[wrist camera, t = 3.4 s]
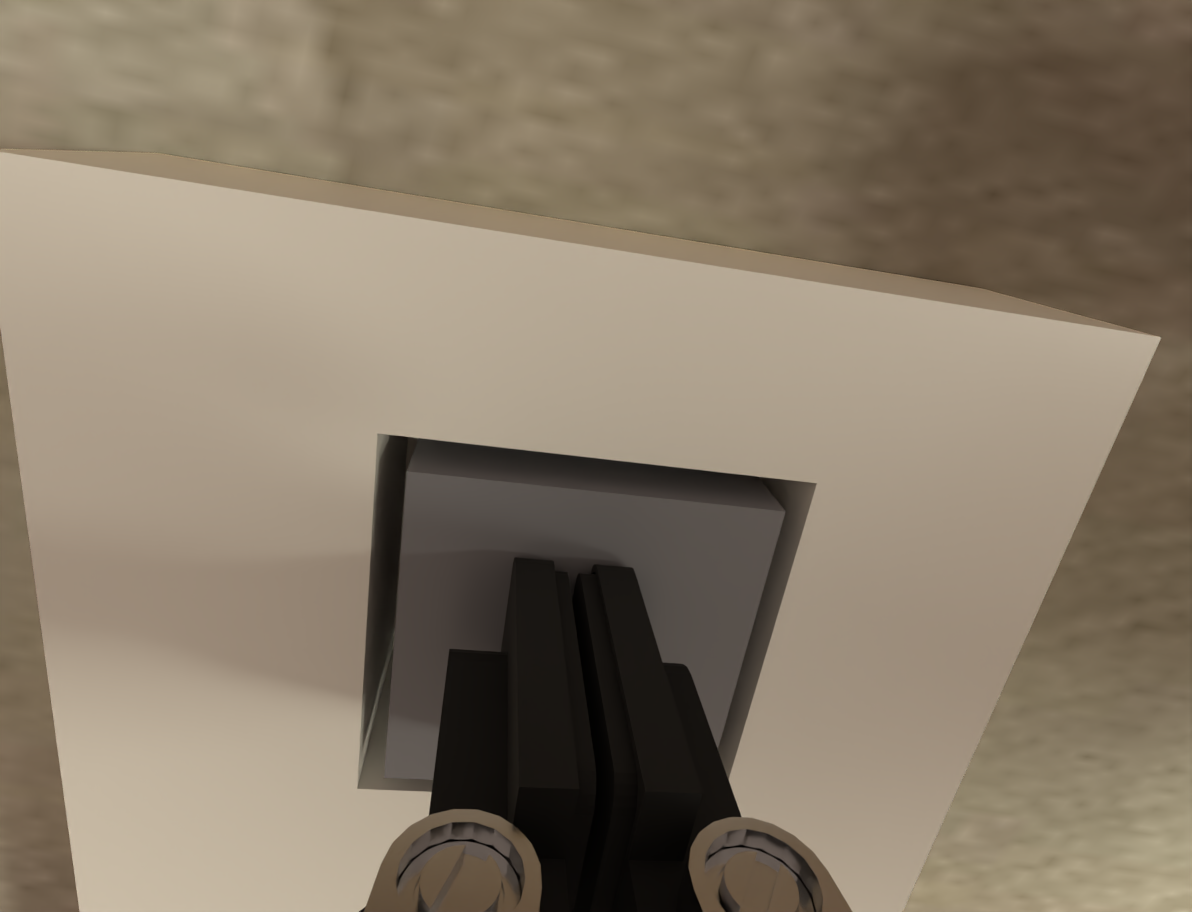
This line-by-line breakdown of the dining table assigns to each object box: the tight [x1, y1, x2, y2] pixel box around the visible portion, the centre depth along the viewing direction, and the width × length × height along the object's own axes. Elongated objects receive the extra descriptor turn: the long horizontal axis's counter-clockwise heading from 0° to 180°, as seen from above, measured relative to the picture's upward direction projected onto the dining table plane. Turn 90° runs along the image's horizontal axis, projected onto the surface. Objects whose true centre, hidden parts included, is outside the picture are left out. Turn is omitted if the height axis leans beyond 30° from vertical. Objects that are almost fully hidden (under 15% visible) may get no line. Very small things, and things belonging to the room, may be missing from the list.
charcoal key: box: [384, 438, 786, 780], centre depth 12 cm, size 5×5×3 cm
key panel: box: [0, 149, 1161, 912], centre depth 14 cm, size 14×22×4 cm, turn 171°
